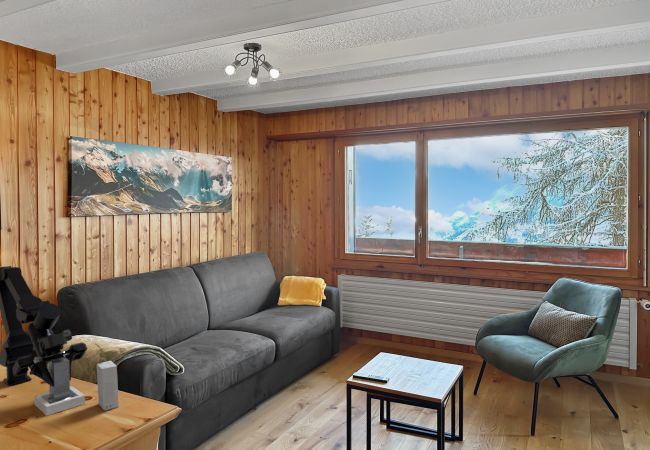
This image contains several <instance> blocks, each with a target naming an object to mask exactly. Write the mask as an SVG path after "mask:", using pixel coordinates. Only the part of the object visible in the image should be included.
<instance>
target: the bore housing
mask: <svg viewBox="0 0 650 450" xmlns="http://www.w3.org/2000/svg"><path fill="white" fill-rule="evenodd" d="M70 394H71V395H72V398H69V399H65V400H62V401H59V402H55V403H52V404H49V403H48V398H49V397H50V391H48V392H45V393H41V394H39V395H34V406H36V407H37V408H38V409H39V410H40V411H41V412H42V413H43V414H44V415H45V416H47V417H48V416H50V415H53V414H54V415H55V414H57V413H60V412H64V411H66V410H69V409H73V408H76V407H79V406H82V405H85V404H86V395H85V394H84V393H82V392H81V391H79V390H78V389H76V388H75V387H74V386H72V385H71V386H70Z"/></svg>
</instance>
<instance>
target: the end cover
mask: <svg viewBox="0 0 650 450" xmlns="http://www.w3.org/2000/svg"><path fill="white" fill-rule="evenodd" d="M48 370H49V372H50V375H51V377H52V379H53V381H54V386H53V387H52V386H50V385H49V392H50V397H49V398H48V403H49V404H52V403H55V402H59V401H62V400H65V399H69V398H72V395H71V394H70V385H71V384H70V382H71V380H70V374H69V360H68V359H67V358H65V357H62V358H57V359H53V360H49V362H48Z"/></svg>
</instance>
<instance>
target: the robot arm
mask: <svg viewBox="0 0 650 450" xmlns="http://www.w3.org/2000/svg"><path fill="white" fill-rule="evenodd" d="M22 272H23V271H22V269H21V268H20V267H19V266H18V267H17V266H11V265H7V266H0V314H1V319H2V323H3V327H4V331H5V335H6V336H5V339H4V340H3V342H2V350H1V352H0V366H2V367H4V368H6V378H3V379H2V380H3V382H4V383H5V384H6V385H8V386H13V385H17V384H20V383H25V382H29V381H32V377H31V376H35V377H38V378H39V379H41V381H43V382H45V383H46V384H47V385H48V386H49V387H50V386H52V387H53V386H54V381H53V379H52V377H51V375H50V372H49V367H48V365H47V363H49V360H53V359H57V358H62V357H65V358H67V359H68V360H69V374H70V381H71V380H72V363H73V362H74V361H78V360H80V359H82V358H83V357H84V355H85V354H86V351H87V350H88V346H87V345H86V343H85V342H79V343H74V344H71V345H70V346H69V348H67V350H64V351H62V350H63V349H64V348H65V346H64V345H67V344H68V342H70V341H71V340H72V339H73V335H72V331H70V329H65V330H62V331H61V332H60V333H58V334H56V333H55V334H54V332H53V330H52V328H53V327H54V326H55V325H56V323H57V321H58V319H59V318H60V316H61V313H62V310H61V307H59V306H58V305H57V304H54V303H51V302H50V300H44V301H43V300H42V299H41V297H37V296H36V295H34V294H33V292H32V290H31V288H30V287H29V285H28V284H27V282H26V280H25V277H24V276H23V275H22V274H23V273H22ZM24 324H29V325H28V327H27V329H26V331H25V330H24V328H23V325H24ZM35 355H37V356H35ZM29 370H30V371H29ZM28 373H29V374H28Z"/></svg>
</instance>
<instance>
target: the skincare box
mask: <svg viewBox="0 0 650 450" xmlns="http://www.w3.org/2000/svg"><path fill="white" fill-rule="evenodd" d="M117 368H118V366H117V365H116V363H114V362H113V361H112V360H108V361H103V362H99V363H96V377H97V378H96V379H97V396H98V405H99V407H101V409H102V410H103V411H108V410H113V409H116V408H119V407H120V406H119V388H118V387H119V385H118V382H119V381H118V369H117Z"/></svg>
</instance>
